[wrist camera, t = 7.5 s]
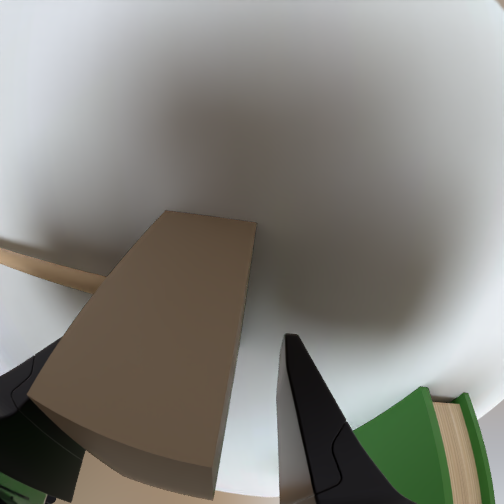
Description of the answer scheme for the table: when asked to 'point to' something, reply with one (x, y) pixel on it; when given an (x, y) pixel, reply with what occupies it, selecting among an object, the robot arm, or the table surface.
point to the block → (152, 351)
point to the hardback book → (430, 450)
